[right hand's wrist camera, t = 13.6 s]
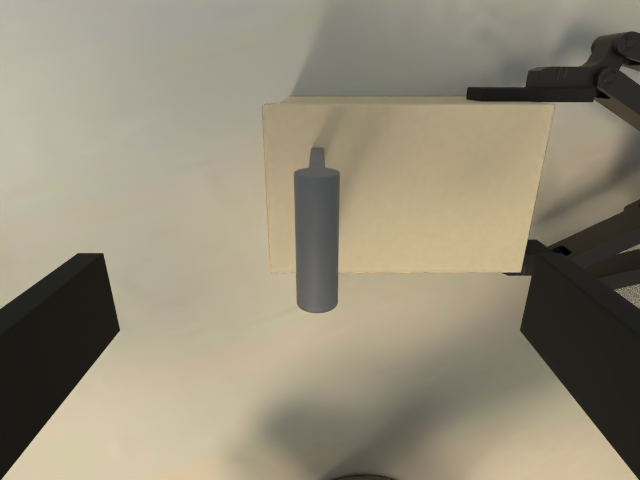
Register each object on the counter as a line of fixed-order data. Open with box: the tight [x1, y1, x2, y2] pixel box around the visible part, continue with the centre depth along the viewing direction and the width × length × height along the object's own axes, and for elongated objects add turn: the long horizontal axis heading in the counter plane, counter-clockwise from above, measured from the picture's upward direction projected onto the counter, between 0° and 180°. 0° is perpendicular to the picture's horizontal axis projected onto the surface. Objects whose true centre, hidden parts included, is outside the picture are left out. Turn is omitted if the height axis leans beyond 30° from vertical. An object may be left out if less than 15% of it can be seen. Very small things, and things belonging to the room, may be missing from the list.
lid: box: [262, 103, 555, 313], centre depth 20 cm, size 15×10×9 cm, turn 90°
